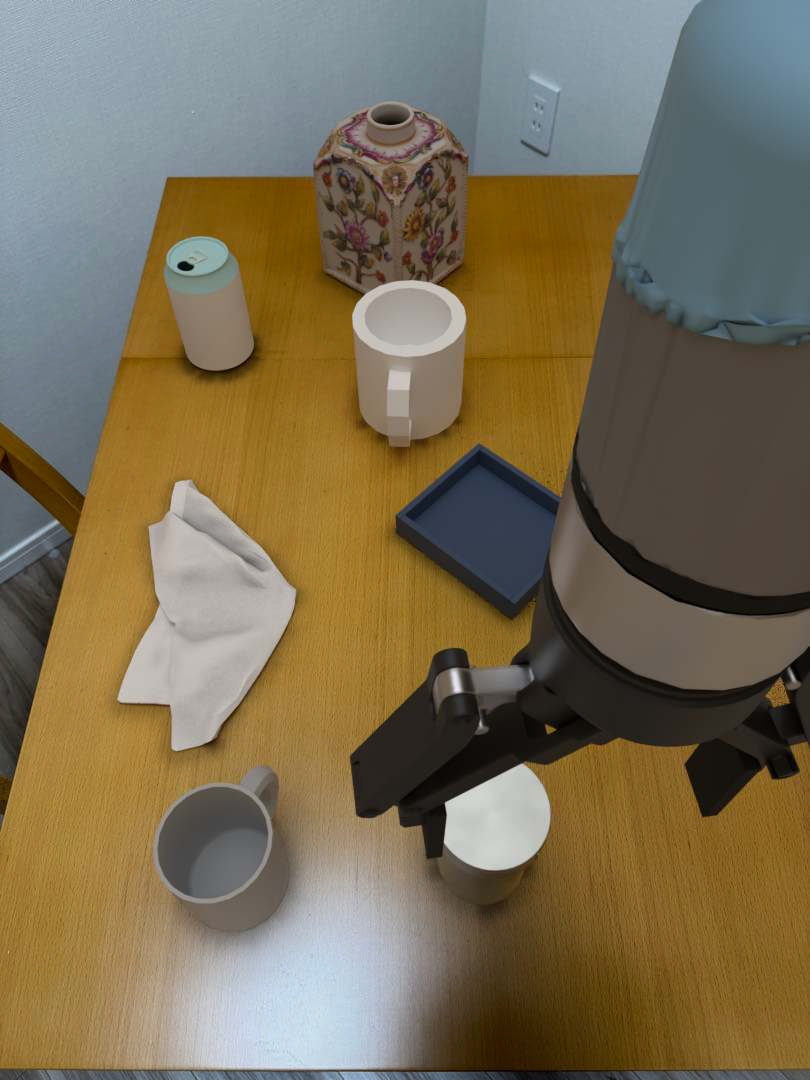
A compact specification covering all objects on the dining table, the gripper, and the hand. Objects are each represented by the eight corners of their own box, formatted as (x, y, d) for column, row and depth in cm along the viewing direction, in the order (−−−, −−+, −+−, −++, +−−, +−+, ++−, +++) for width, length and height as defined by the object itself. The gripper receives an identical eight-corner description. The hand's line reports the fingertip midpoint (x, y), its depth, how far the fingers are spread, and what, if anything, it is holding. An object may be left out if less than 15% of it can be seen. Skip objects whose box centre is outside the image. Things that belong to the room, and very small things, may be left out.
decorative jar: (466, 264, 97) (475, 108, 82) (399, 317, 92) (396, 161, 77) (387, 224, 102) (382, 68, 87) (319, 272, 97) (302, 116, 82)
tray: (592, 538, 75) (597, 521, 73) (512, 620, 71) (514, 604, 68) (477, 461, 80) (478, 442, 78) (395, 532, 76) (395, 515, 74)
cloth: (283, 751, 64) (279, 739, 62) (101, 752, 64) (91, 740, 63) (306, 481, 79) (303, 465, 77) (158, 482, 79) (152, 467, 78)
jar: (541, 857, 60) (562, 809, 51) (486, 925, 57) (498, 887, 49) (475, 799, 62) (484, 744, 54) (419, 862, 60) (420, 815, 51)
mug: (458, 469, 80) (463, 387, 71) (349, 464, 80) (341, 382, 72) (463, 367, 88) (468, 282, 79) (363, 363, 88) (358, 278, 79)
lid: (571, 816, 52) (576, 807, 51) (498, 906, 49) (501, 899, 48) (482, 741, 55) (484, 730, 53) (408, 822, 52) (408, 812, 51)
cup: (165, 908, 58) (129, 874, 51) (236, 775, 63) (213, 727, 56) (260, 952, 56) (236, 924, 49) (325, 811, 62) (312, 767, 54)
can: (250, 375, 87) (229, 279, 78) (182, 375, 88) (152, 278, 78) (258, 328, 91) (239, 231, 82) (193, 328, 92) (166, 231, 82)
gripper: (1012, 432, 28) (779, 704, 45) (236, 524, 26) (307, 771, 43) (1162, 635, 23) (841, 849, 41) (245, 764, 21) (319, 930, 39)
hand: (566, 809), depth 42 cm, fingers open, 13 cm apart
